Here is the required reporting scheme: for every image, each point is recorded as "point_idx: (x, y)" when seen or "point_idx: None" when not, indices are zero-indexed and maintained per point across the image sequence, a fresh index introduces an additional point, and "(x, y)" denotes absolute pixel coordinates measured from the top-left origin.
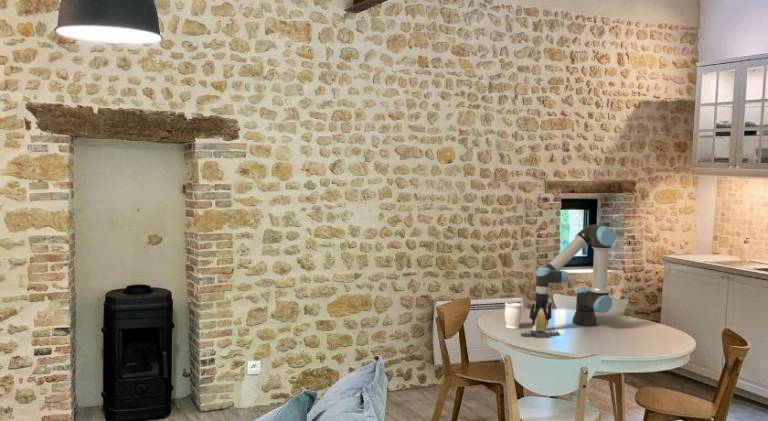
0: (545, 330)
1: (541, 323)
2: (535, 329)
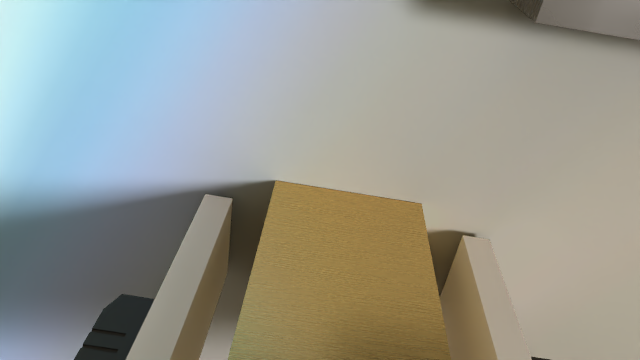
0: (231, 199)
1: (361, 331)
2: (488, 257)
